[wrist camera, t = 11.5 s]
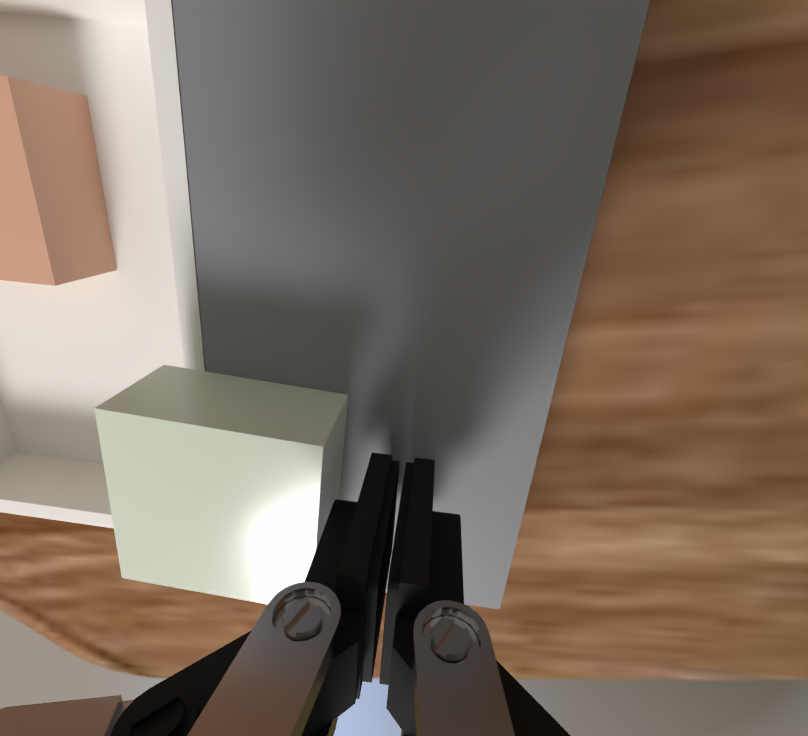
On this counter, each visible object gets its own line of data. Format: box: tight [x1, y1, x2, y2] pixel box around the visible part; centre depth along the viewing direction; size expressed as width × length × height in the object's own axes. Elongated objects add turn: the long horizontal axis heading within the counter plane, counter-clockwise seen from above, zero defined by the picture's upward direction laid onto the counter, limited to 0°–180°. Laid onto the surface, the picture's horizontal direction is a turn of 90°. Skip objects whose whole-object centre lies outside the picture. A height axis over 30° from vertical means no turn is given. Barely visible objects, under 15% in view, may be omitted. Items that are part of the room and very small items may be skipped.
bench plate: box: [173, 0, 650, 609], centre depth 13 cm, size 16×9×4 cm, turn 175°
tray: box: [0, 0, 206, 528], centre depth 14 cm, size 16×10×3 cm, turn 175°
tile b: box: [94, 365, 348, 604], centre depth 11 cm, size 5×5×2 cm
